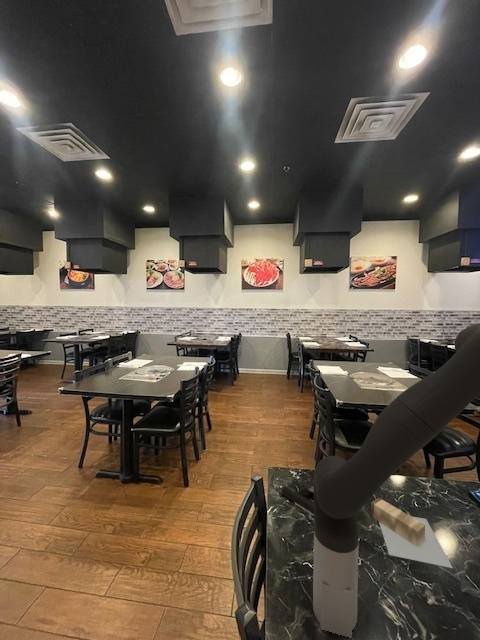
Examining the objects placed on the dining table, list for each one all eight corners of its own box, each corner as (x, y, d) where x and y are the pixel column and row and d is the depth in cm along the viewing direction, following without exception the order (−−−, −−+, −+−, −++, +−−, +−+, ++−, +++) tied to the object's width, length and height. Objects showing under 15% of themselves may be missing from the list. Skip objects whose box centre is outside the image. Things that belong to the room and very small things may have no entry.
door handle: (305, 474, 111) (279, 488, 100) (354, 500, 96) (329, 519, 85) (305, 483, 111) (278, 497, 100) (353, 509, 96) (328, 530, 85)
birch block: (425, 524, 81) (379, 497, 93) (417, 531, 78) (371, 502, 90) (424, 540, 81) (378, 511, 93) (416, 546, 78) (370, 516, 90)
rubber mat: (453, 570, 72) (453, 568, 72) (389, 556, 76) (389, 554, 76) (426, 520, 89) (426, 518, 89) (375, 511, 93) (375, 510, 93)
